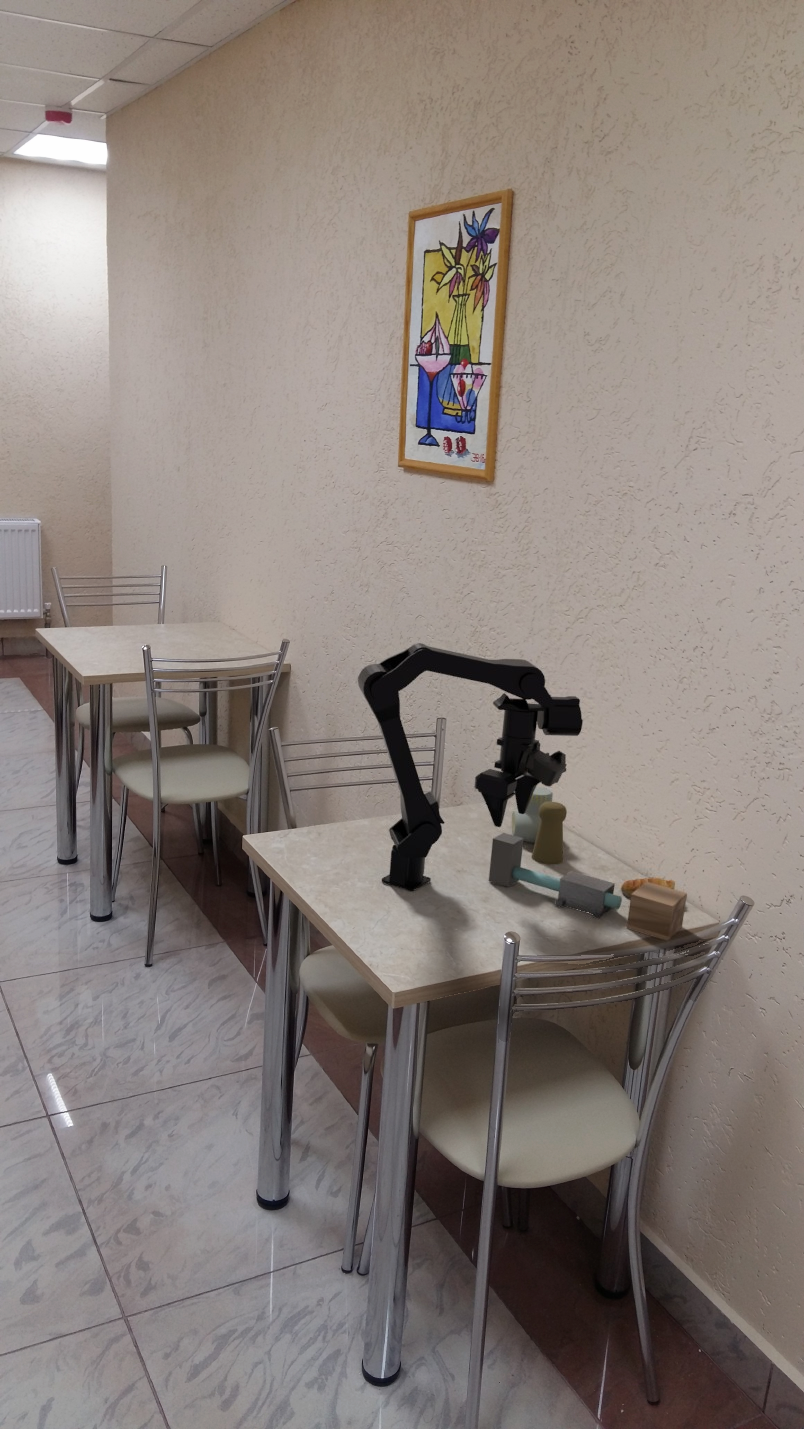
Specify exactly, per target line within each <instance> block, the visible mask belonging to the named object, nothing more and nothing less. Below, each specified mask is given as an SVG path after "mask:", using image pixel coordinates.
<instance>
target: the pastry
mask: <svg viewBox="0 0 804 1429" xmlns="http://www.w3.org/2000/svg"><path fill="white" fill-rule="evenodd" d="M645 882H650V883H653V884H657V885H660V886H664V887H667V888H671V889H674V890H675V885H676V882H675V881H674V880H673V879H669V880H667V879H663V878H661V877H655V876H654V877H649V878H648V877H645V878H635V879H630V880H629V879H628V880H625V881H624V882H623V883H622V885H621V889H620V892H622V893H623V895H624V896H625V897H627V898H629V899H631V894H632V893H633V892H634V891H636V890H637V889H638V888H639V887H641V886H642V885H643V884H644V883H645Z"/></svg>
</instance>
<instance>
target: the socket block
mask: <svg viewBox="0 0 804 1429" xmlns="http://www.w3.org/2000/svg"><path fill="white" fill-rule="evenodd" d="M687 894H688V893H687V892H684V891H683V890H682V891H681V890H678V889H675V888H674V889H671V888H667V887H664V886H660V885H657V884H653V883H650V882H645V883H644V884H643V885H642V886H641V887H639V888H638V889H637V890H636V891H634V892H633V893H632V894H631V898H629V899H630V900H629V906H628V907H629V908H628V913H627V914H628V916H627V924H626V929H628V930H631V931H635V932H638V933H641V934H645V935H647V936H652V937H654V938H658V939H661V940H665V941H669V940H670V939H671V938H672V937H673V936H674V935H675V934H676V933H678V931H679V930H680V929H682V927H683V924H684V923H683V922H684V917H685V916H684V915H685V909H686V902H687V896H688V895H687Z"/></svg>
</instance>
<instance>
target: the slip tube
mask: <svg viewBox="0 0 804 1429" xmlns="http://www.w3.org/2000/svg"><path fill="white" fill-rule="evenodd" d="M523 839H524V838H521V837H517V836H514V835H513V834H509V833H506V832H501V833H500V834H498V835H496V836H495V837H493V838H492V843H491V852H490V853H491V854H490V862H489V863H490V865H489V873H488V882H491V883H494V884H496V885H502V886H504V887H507V888H510V887H511V886H513V885H515V884H516V883H517V882H519V881H521V882H525V883H529V884H532V885H535V886H539V887H542V888H545V889H549V890H551V891H555V892H558V893H559V885H560V879H561V878H558V877H555V876H551V875H548V874H547V873H546V874H545V873H542V872H539V871H535V870H531V869H528V868H525V867H521V865H522V858H523V857H522V856H523V846H524V841H523ZM622 901H623V898H622V896H620V895H616V894H614V893H613V894H610V893H606V894H605V901H604V905H605V906H608V907H611V908H612V909H615V910H619V909H620V907H621V905H622Z"/></svg>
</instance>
